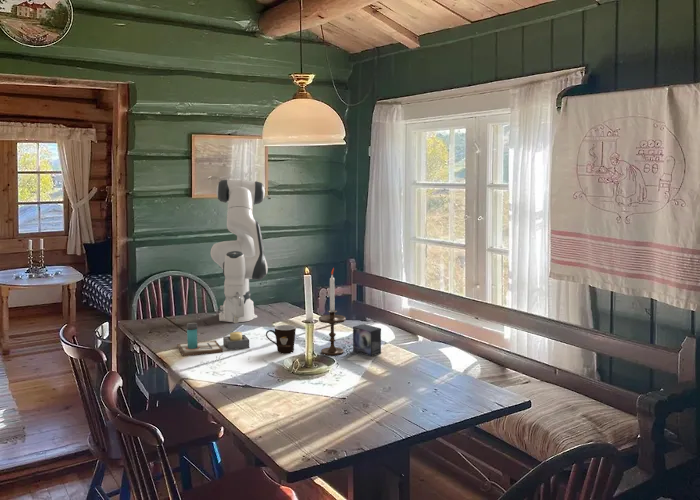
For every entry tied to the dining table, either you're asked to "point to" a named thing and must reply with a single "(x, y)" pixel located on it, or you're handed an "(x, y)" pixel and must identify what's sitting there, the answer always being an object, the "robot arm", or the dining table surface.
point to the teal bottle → (192, 335)
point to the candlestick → (332, 322)
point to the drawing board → (200, 348)
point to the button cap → (235, 336)
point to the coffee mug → (284, 338)
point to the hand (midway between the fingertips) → (235, 322)
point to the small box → (367, 339)
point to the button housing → (236, 343)
